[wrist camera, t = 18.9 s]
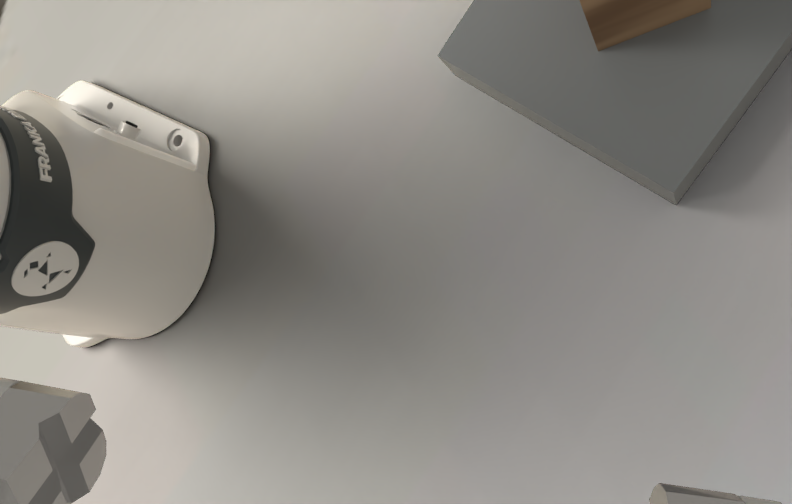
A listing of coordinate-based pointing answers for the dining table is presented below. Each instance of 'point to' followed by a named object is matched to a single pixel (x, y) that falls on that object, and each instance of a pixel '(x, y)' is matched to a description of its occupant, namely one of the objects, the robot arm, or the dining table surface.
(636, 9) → the crate
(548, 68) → the block
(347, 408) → the dining table surface
